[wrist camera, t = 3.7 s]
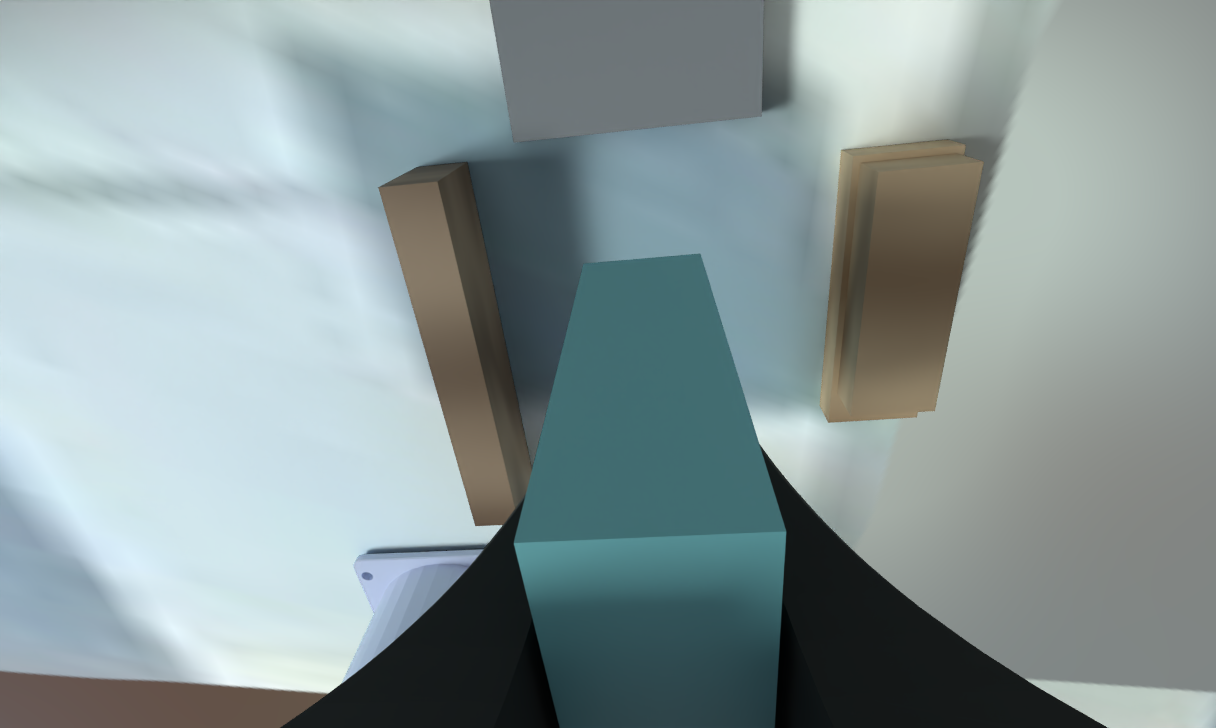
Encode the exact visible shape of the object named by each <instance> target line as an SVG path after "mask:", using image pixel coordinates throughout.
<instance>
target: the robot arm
mask: <svg viewBox="0 0 1216 728" xmlns="http://www.w3.org/2000/svg"><path fill="white" fill-rule="evenodd" d="M759 445H760V444H759ZM760 448H761V451H762V455H763V458H764V461H765V464H766V468H767V471H768V474H769V477H770V481H771V484H772V487H773V490H774V493H775V497H776V500H777V503H778V506H779V510H780V513H781V516H782V519H783V523H784V526H785V529H786V544H785V561H784V578H783V595H782V611H781V628H780V645H779V662H778V679H777V695H776V712H775V728H1107V727H1106V726H1104V725H1102V724H1100V723H1099V722H1097V721H1095V720H1093V719H1092V718H1090V717H1088V716H1086V715H1085V714H1083V713H1081V712H1079V711H1078V710H1076V709H1074V708H1072V707H1071V706H1069V705H1067V704H1065V703H1064V702H1062V701H1060V700H1059V699H1057V698H1055V697H1053V696H1052V695H1050V694H1048V693H1046V692H1045V691H1043V690H1041V689H1040V688H1038V687H1036V686H1035V685H1033V684H1031V683H1030V682H1028V681H1027V680H1025V679H1024V678H1022V677H1020V676H1019V675H1017V674H1016V673H1014V672H1013V671H1011V670H1010V669H1008V668H1006V667H1005V666H1003V665H1002V664H1000V663H999V662H997V661H996V660H994V659H992V658H991V657H989V656H988V655H986V654H984V653H983V652H982V651H980V650H979V649H977V648H976V647H974V646H973V645H971V644H970V643H969V642H967V641H966V640H964V639H963V638H962V637H960V636H959V635H957V634H956V633H955V632H953V631H952V630H951V629H949V628H948V627H946V626H945V625H943V624H942V623H941V622H940V621H938V620H937V619H935V618H934V617H932V616H931V615H930V614H928V613H927V612H926V611H924V610H923V609H922V608H920V607H918V606H917V605H916V604H915V603H914V602H913V601H911V600H910V599H909V598H907V597H906V596H905V595H904V594H903V593H901V592H900V591H899V590H898V589H896V588H895V587H894V586H893V585H891V584H890V583H889V582H888V581H887V580H886V579H884V578H883V577H882V576H881V575H880V574H878V573H877V572H876V571H875V570H874V569H873V568H872V567H871V566H869V565H868V564H867V563H866V562H865V561H864V560H863V559H862V558H861V557H859V556H858V555H857V554H856V553H855V552H854V551H853V550H852V549H851V548H850V547H849V546H848V545H847V544H846V543H845V542H844V541H843V540H842V539H841V538H840V537H839V536H838V535H837V534H836V533H835V532H834V531H833V530H832V529H831V528H830V527H829V526H828V525H827V524H826V523H825V522H824V521H823V520H822V519H821V518H820V517H819V516H818V515H817V514H816V513H815V511H814V510H813V509H812V508H811V507H810V506H809V505H808V504H807V503H806V501H805V500H804V499H803V498H802V497H801V496H800V495H799V494H798V492H797V491H796V490H795V489H794V488H793V487H792V485H791V484H790V483H789V482H788V481H787V480H786V478H785V477H784V476H783V475H782V473H781V472H780V471H779V470H778V468H777V467H776V466H775V465H774V463H773V462H772V461H771V459H770V458H769V457H768V455H767V454H766V453H765V451H764V450H763V448H762V447H761V446H760ZM525 496H526V494H525V495H524V497H523V498H522V500H521V501H520V502H519V504H518V505H517V507H516V508H515V509H514V511H513V512H512V514H511V515H510V516H509V518H508V519H507V521H506V522H505V523H504V525H503V526H502V527H501V528H500V530H499V531H498V532H497V533H496V535H495V536H494V537H493V538H492V540H491V541H490V542H489V543H488V545H487V546H486V547H485V548H484V549H480V550H456V551H433V552H409V553H385V554H363V555H360V556H358V557H357V559H356V560H355V562H354V564H353V567H354V570H355V572H356V574H357V577H358V579H359V581H360V583H361V586H362V588H363V590H364V592H365V595H366V597H367V599H368V601H369V604H370V606H371V608H372V610H373V613H374V615H373V617H372V619H371V621H370V623H369V626H368V628H367V630H366V632H365V634H364V636H363V638H362V641H361V643H360V645H359V647H358V649H357V651H356V653H355V656H354V658H353V660H352V662H351V664H350V666H349V668H348V671H347V673H346V675H345V677H344V679H343V681H342V683H341V684H340V685H339V686H338V687H337V688H335V689H334V690H333V691H331V692H330V693H329V694H327V695H326V696H325V697H323V698H322V699H321V700H319V701H318V702H317V703H315V704H314V705H312V706H311V707H309V708H308V709H307V710H305V711H304V712H303V713H301V714H300V715H298V716H296V717H295V718H294V719H292V720H291V721H289V722H288V723H287V724H285V725H283V726H282V727H281V728H560V727H559V723H558V719H557V715H556V711H555V707H554V702H553V698H552V694H551V690H550V686H549V682H548V678H547V674H546V670H545V666H544V662H543V658H542V654H541V650H540V646H539V642H538V638H537V634H536V630H535V626H534V622H533V618H532V614H531V610H530V606H529V602H528V598H527V594H526V590H525V586H524V582H523V578H522V574H521V570H520V566H519V562H518V558H517V554H516V550H515V546H514V540H515V536H516V532H517V528H518V524H519V520H520V516H521V512H522V508H523V504H524V500H525Z"/></svg>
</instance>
